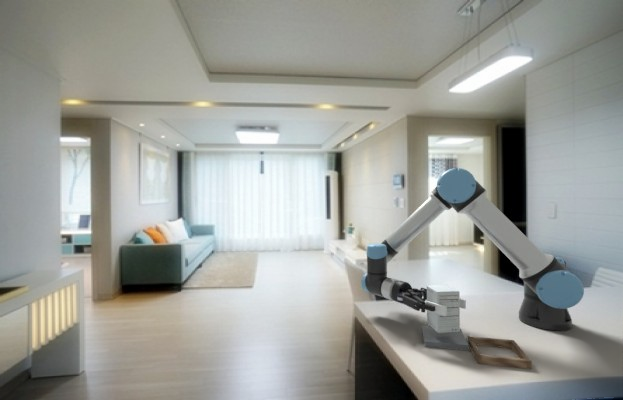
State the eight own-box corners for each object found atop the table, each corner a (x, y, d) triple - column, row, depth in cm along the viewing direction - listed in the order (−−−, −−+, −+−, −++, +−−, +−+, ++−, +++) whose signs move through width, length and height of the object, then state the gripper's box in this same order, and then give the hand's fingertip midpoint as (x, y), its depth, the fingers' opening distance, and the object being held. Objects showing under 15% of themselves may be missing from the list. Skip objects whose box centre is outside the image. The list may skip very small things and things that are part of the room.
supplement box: (426, 323, 103) (425, 284, 103) (448, 322, 103) (447, 284, 103) (437, 333, 95) (436, 291, 95) (460, 332, 96) (460, 290, 96)
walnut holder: (513, 346, 94) (513, 340, 94) (531, 368, 82) (531, 361, 82) (467, 342, 97) (467, 336, 97) (478, 363, 85) (477, 355, 85)
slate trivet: (460, 333, 104) (460, 328, 104) (468, 350, 92) (468, 345, 92) (422, 330, 107) (422, 325, 107) (425, 346, 95) (425, 341, 95)
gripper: (416, 295, 120) (475, 312, 102) (375, 307, 108) (434, 329, 89) (416, 275, 120) (474, 288, 102) (375, 285, 108) (433, 302, 89)
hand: (455, 307), depth 96 cm, fingers closed on supplement box, 10 cm apart
